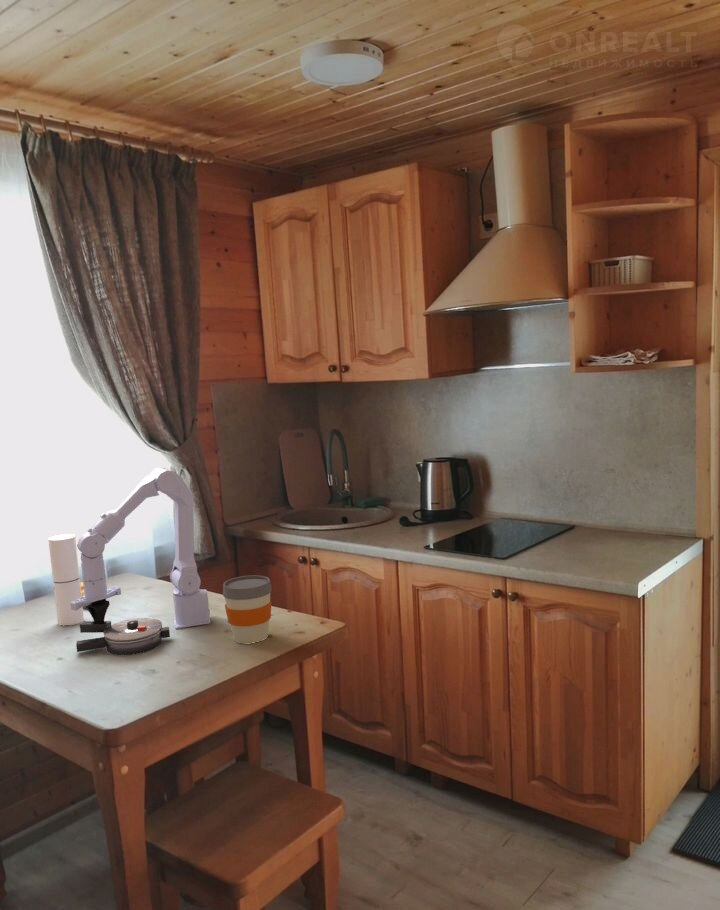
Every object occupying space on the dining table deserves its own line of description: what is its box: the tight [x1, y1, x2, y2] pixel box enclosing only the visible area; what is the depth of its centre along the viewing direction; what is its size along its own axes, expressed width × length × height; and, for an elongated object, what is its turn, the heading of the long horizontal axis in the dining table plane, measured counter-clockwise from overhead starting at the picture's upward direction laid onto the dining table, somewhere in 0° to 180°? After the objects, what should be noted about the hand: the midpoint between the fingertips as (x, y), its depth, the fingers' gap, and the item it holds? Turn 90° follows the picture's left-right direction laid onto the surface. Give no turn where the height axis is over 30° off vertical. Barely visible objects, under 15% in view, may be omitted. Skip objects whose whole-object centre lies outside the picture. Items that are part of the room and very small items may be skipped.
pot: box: [75, 626, 171, 656], centre depth 197 cm, size 23×14×4 cm, turn 108°
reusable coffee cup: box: [222, 574, 273, 644], centre depth 197 cm, size 13×12×15 cm
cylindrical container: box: [48, 533, 85, 627], centre depth 218 cm, size 7×7×25 cm
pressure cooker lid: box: [79, 617, 163, 642], centre depth 197 cm, size 21×15×2 cm
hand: (99, 628), depth 201 cm, fingers closed
